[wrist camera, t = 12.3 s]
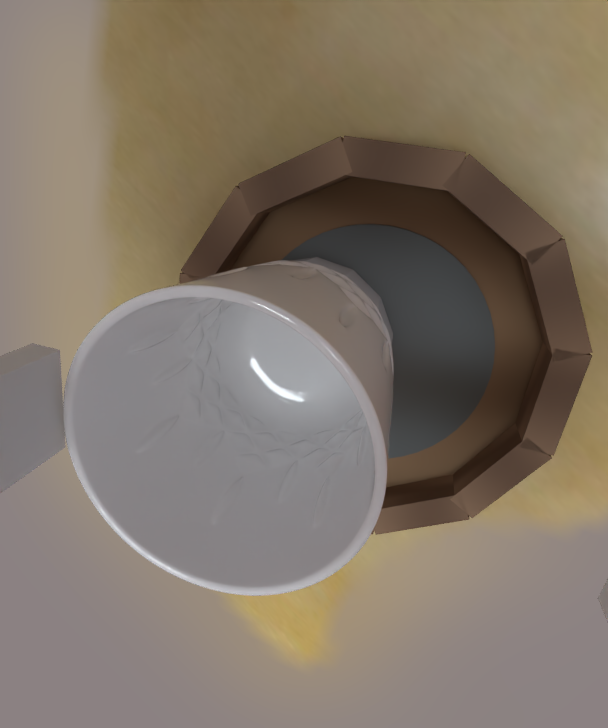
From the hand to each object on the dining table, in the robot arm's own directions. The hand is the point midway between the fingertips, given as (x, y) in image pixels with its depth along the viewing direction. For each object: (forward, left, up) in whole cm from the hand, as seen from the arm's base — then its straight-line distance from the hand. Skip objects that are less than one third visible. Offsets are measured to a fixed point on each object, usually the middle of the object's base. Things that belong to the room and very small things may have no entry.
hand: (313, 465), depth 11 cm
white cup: (0, -2, -10) cm, 10 cm away
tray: (0, 0, -11) cm, 11 cm away
